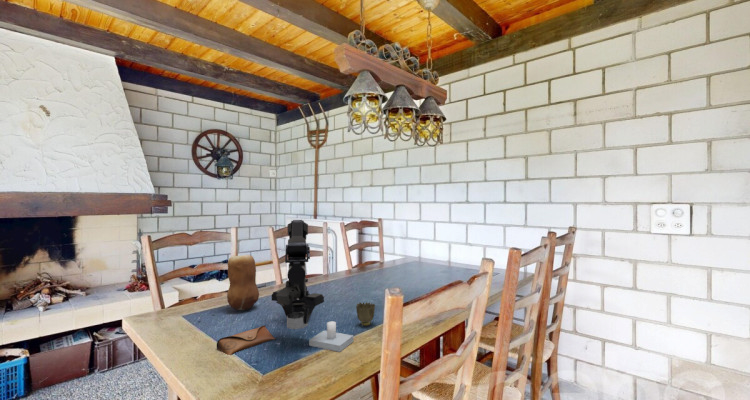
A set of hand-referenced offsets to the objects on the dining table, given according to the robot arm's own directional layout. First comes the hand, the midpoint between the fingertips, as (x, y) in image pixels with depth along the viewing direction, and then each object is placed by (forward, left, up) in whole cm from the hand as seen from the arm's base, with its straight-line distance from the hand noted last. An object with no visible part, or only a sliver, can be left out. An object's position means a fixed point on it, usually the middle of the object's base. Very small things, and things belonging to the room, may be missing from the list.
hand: (297, 322), depth 115 cm
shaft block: (+12, +3, -7) cm, 14 cm away
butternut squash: (-45, +18, -7) cm, 49 cm away
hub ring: (0, 0, -1) cm, 1 cm away
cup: (+15, +23, -7) cm, 28 cm away
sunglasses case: (-14, -9, -7) cm, 18 cm away
